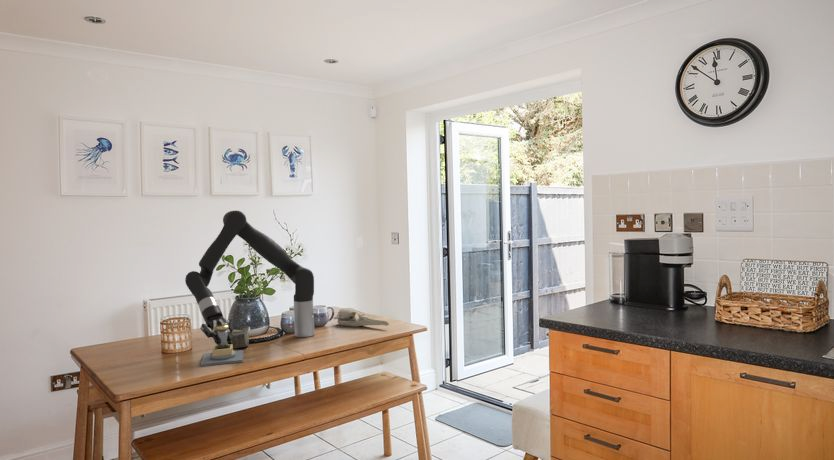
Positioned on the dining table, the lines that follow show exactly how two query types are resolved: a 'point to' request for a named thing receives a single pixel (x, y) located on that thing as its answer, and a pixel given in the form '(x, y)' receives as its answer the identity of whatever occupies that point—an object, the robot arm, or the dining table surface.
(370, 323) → the bird skull
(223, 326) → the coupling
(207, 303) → the robot arm
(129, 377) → the dining table surface
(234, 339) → the rock
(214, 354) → the grey tray with block
